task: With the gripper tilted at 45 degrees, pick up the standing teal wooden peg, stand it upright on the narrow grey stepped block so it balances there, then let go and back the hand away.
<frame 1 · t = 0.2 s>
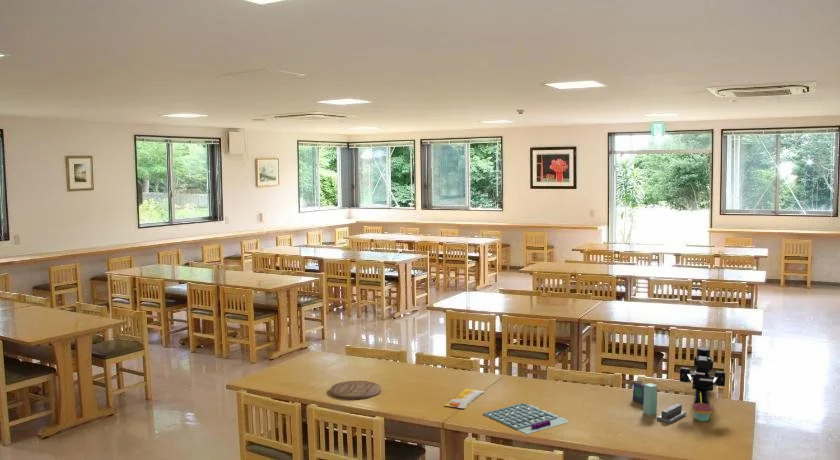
hand: (702, 382, 306), 17 cm above the table, tool horizontal, fingers open, 9 cm apart
blue gift bag: (640, 402, 331), on the table
calendar: (527, 419, 310), on the table
cupcake: (702, 419, 308), on the table
grey stepped block: (671, 417, 310), on the table
peg: (649, 413, 316), on the table
trivet: (355, 392, 347), on the table
food package: (464, 400, 335), on the table
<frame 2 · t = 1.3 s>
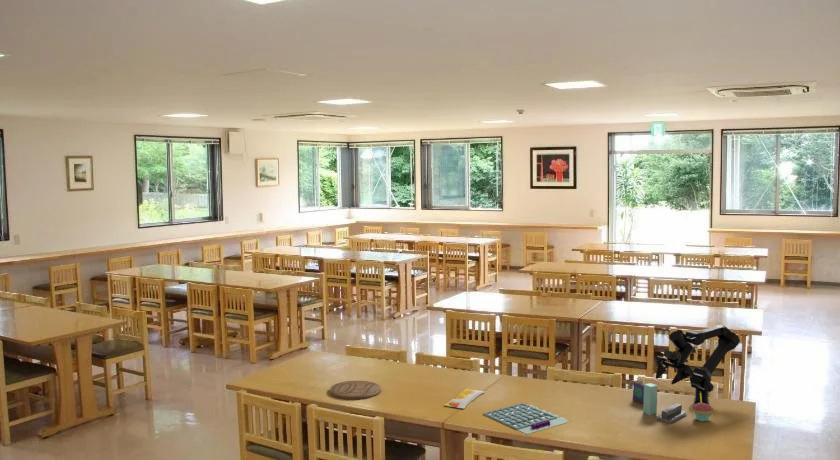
hand: (664, 381, 318), 14 cm above the table, tool tilted 45°, fingers open, 9 cm apart
nothing on the table moved.
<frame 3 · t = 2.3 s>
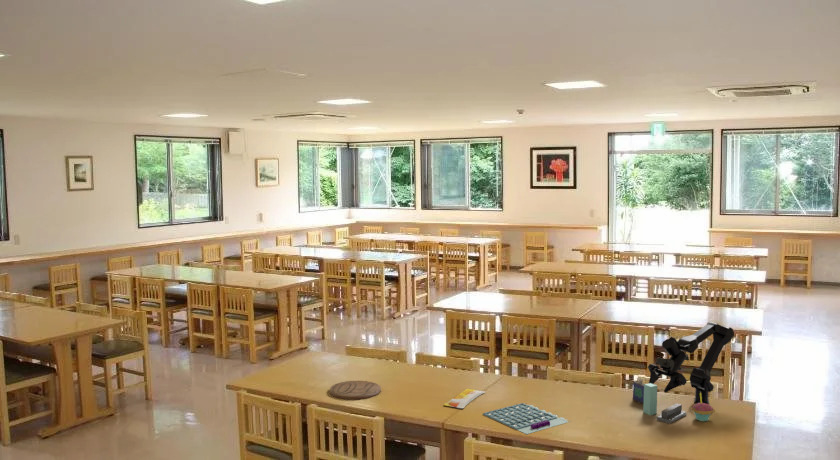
hand: (656, 388, 317), 11 cm above the table, tool tilted 45°, fingers open, 9 cm apart
nothing on the table moved.
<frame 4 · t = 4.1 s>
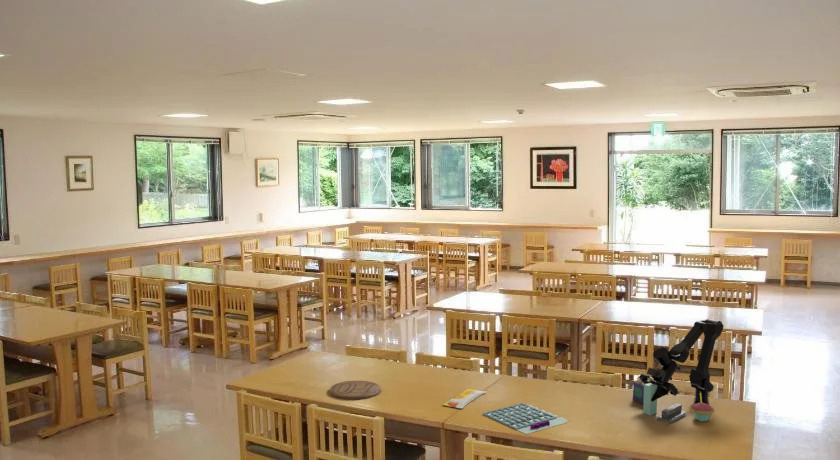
hand: (648, 399, 315), 7 cm above the table, tool tilted 45°, fingers closed on peg, 4 cm apart
peg: (649, 413, 316), on the table, touching gripper
everything else where it was.
when the fingers open (12 cm above the table, at t = 7.8 s): peg stays where it is, resting on grey stepped block.
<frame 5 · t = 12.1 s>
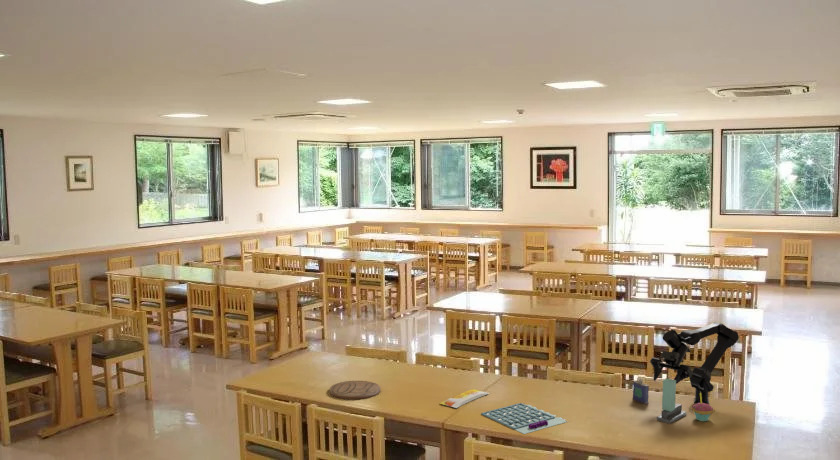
hand: (663, 382, 316), 14 cm above the table, tool tilted 45°, fingers open, 9 cm apart
peg: (668, 409, 308), point 4 cm above the table, touching grey stepped block
at the end: peg inside the target area on the grey stepped block (0.2 cm from its centre), point 4.5 cm above the grey stepped block's base; peg tilted 0°; the gripper is holding nothing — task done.
